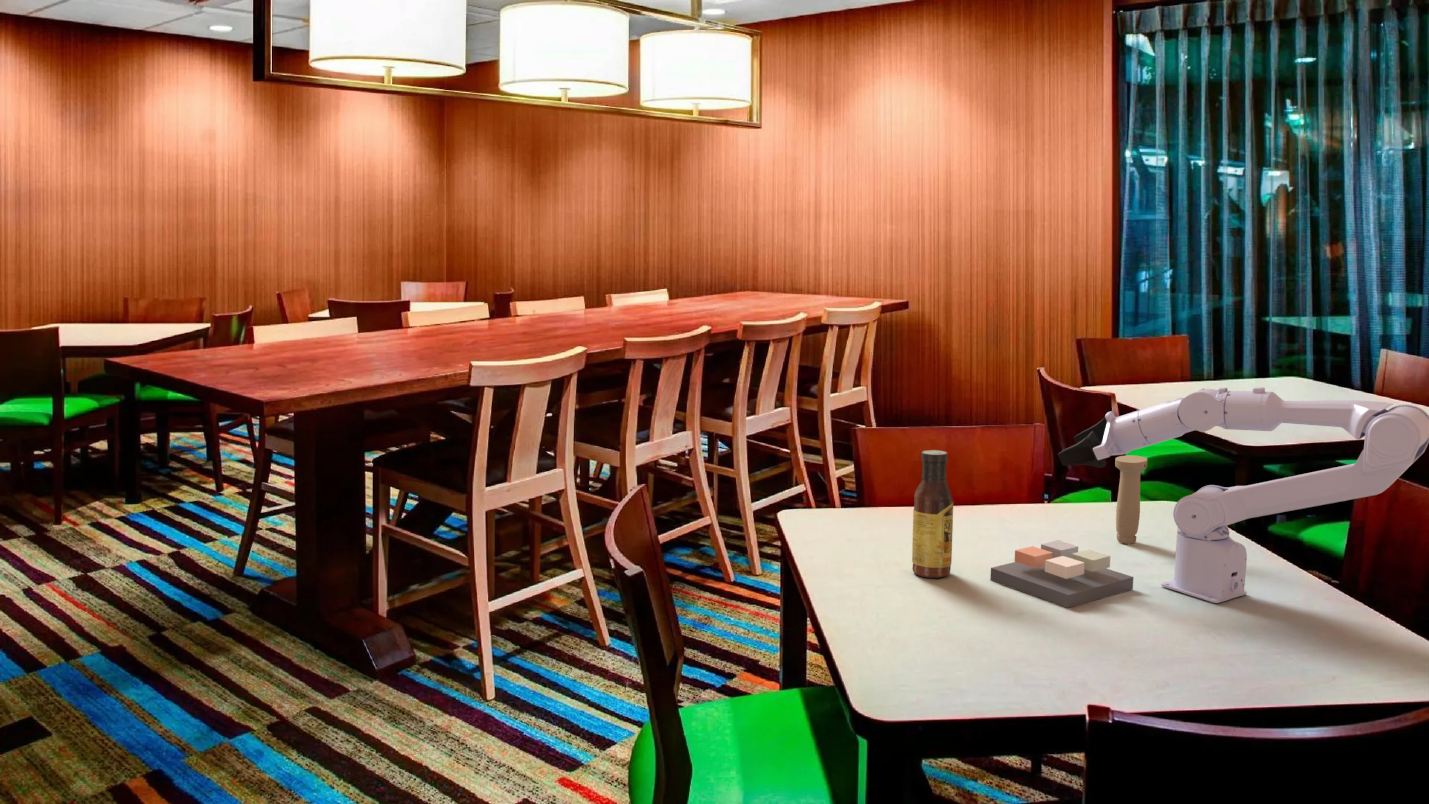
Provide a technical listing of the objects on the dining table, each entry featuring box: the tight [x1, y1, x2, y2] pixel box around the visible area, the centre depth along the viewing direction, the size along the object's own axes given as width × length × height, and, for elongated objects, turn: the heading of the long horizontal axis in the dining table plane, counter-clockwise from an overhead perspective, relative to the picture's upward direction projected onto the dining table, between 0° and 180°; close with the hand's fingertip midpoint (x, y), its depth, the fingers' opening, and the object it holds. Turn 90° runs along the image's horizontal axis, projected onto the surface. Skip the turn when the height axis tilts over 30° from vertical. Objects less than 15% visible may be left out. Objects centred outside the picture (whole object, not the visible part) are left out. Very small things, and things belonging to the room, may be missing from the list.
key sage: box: [1072, 549, 1111, 572], centre depth 165 cm, size 4×4×2 cm
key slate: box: [1040, 539, 1079, 558], centre depth 170 cm, size 4×4×2 cm
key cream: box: [1045, 556, 1085, 579], centre depth 162 cm, size 4×4×2 cm
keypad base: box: [989, 561, 1134, 609], centre depth 167 cm, size 15×15×2 cm
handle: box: [1114, 454, 1148, 545], centre depth 188 cm, size 5×6×15 cm
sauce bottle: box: [911, 449, 954, 579], centre depth 171 cm, size 7×6×20 cm
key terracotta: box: [1014, 545, 1053, 568], centre depth 167 cm, size 4×4×2 cm
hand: (1068, 450), depth 176 cm, fingers open, 7 cm apart
